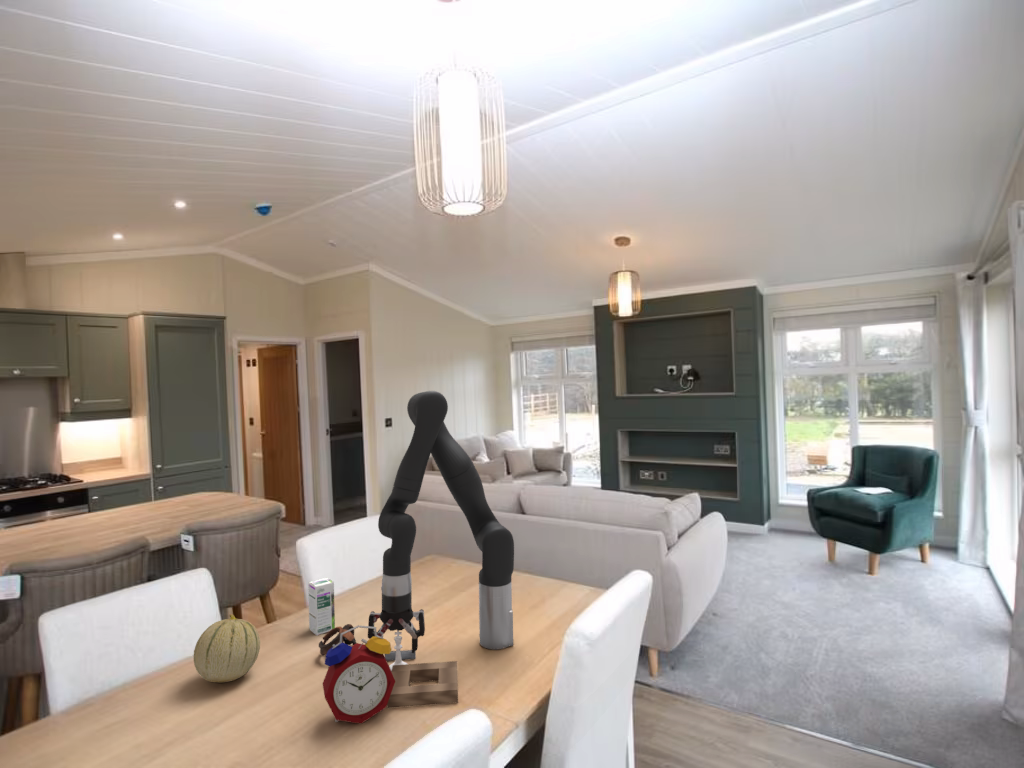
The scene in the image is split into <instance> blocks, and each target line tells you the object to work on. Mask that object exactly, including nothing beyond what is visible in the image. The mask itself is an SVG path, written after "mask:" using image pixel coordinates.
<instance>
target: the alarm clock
mask: <svg viewBox="0 0 1024 768" xmlns="http://www.w3.org/2000/svg"><path fill="white" fill-rule="evenodd" d="M353 627H354V628H352V629H349V630H347V631H345V632H343V633H341V634H340V642H339V643H338V644H337V645H334V644H333V647H332V648H331V649H330V650H328V652H327V654H326V655H325V658H324V665H326V666H327V667H328V669H327V671H326V672H325V673H326V674H325V676H324V678H323V682H322V689H323V695H324V699H325V701H326V703H327V705H328V707H329V708H330V711H331V713H332V715H333V717H334V722H335V723H338V722H339V721H340V722H348V723H353V724H354V723H355V724H363V723H365V722H366V721H368V720H369V719H371V718H372V717H374V716H376V714H378V713H380V712H383V710H384V709H387V703H388V700H389V698H390V695H391V692H392V689H393V687H394V684H395V679H394V677H393V674H392V672H391V669H390V667H389V666H390V664H389V663H388V661H386V659H385V654H390V652H391V651H392V647H391V642H389V640H387V639H386V638H384V634H383V635H382V636H381V637H380V636H378V635H377V633H376V632H377V627H376V626H374V627H370V626H368V625H359V624H358V625H356V626H353ZM358 628H361V629H363V628H364V629H368V628H370V629H374V632H375V637H374V636H373V637H372V638H370V639H369V638H368V640H366V639H364V638H361V642H362V643H359V642H356V644H354V645H353V644H352V645H347V644H345V643H342V635H343V634H345V633H347V632H349V631H352V630H354V631H355V630H356V629H358Z"/></svg>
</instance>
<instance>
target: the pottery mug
mask: <svg viewBox="0 0 1024 768" xmlns="http://www.w3.org/2000/svg"><path fill="white" fill-rule="evenodd" d="M354 627H355V626H354V625H352V624H351V623H347V624H344V626H343V627H342V626H335V628H333V629H332V630H331V631H329V632H326V634H324V636H323V637H322V640H319V641H320V642H319V643H318V648H319V649H320V650H319V653H320V655H321V656H323V657H324V656H326V654H327V652H328V650H330V649H331V648H332V647H333V644H334V645H337V644H338V643H339V642H340V634H341V633H343V632H345V631H347V630H349V629H352V628H354ZM335 635H336V636H335ZM333 636H335V637H334V638H333V639H332V640H331V641H329V640H330V639H331V638H332V637H333ZM328 641H329V642H328ZM327 642H328V643H327ZM326 643H327V644H326ZM342 643H345V644H347V645H349V646H353V645H354V644H356V643H357V640H356V637H355V629H354V630H352V631H349V632H347V633H345V634H343V635H342Z"/></svg>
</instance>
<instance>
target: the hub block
mask: <svg viewBox="0 0 1024 768" xmlns="http://www.w3.org/2000/svg"><path fill="white" fill-rule="evenodd" d="M392 674H393V677H394V679H395V684H394V687H393V689H392V692H391V695H390V698H389V700H388V703H387V706H386V709H393V708H407V707H420V706H429V705H430V706H432V705H435V706H436V705H444V704H458V703H459V679H458V677H459V674H458V660H454V661H453V660H452V661H440V662H439V661H435V662H426V663H425V662H424V663H410V664H409V663H407V664H406V665H393V667H392ZM426 682H438V683H433V684H419V685H416V684H415V685H411V683H426Z"/></svg>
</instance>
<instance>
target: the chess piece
mask: <svg viewBox="0 0 1024 768" xmlns="http://www.w3.org/2000/svg"><path fill="white" fill-rule="evenodd" d="M394 635H395V637H394V638H393V640H394V643H395V645H394V647H393V649H394V650H395V651H396V659H395V660H394V662H393V663H391V664H389V667H390V669H391V671H392V667H393V665H406V664H408V662H406V661H404V660H402V659H401V652H400V651H401V649H403V645H402V644H401V643H402V640H403V636H401V635H402V631H400V630H396V632H394Z"/></svg>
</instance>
